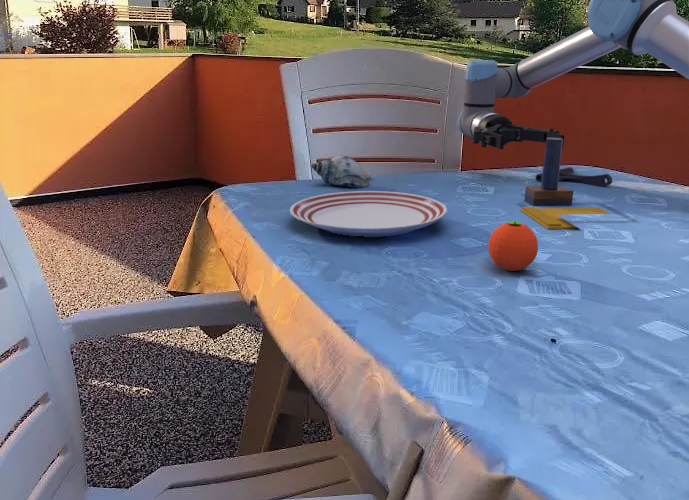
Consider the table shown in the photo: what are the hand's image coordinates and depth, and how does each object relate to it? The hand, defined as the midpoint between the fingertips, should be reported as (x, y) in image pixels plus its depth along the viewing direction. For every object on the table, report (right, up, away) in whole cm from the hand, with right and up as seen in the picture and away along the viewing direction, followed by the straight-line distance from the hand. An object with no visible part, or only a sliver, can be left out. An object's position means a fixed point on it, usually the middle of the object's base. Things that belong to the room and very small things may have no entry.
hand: (532, 142), depth 149 cm
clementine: (-16, -26, -47) cm, 56 cm away
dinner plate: (-35, -18, -24) cm, 47 cm away
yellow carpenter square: (+3, -17, -18) cm, 25 cm away
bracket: (+15, -7, +16) cm, 23 cm away
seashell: (-40, -8, +8) cm, 42 cm away
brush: (+2, -13, -6) cm, 14 cm away
